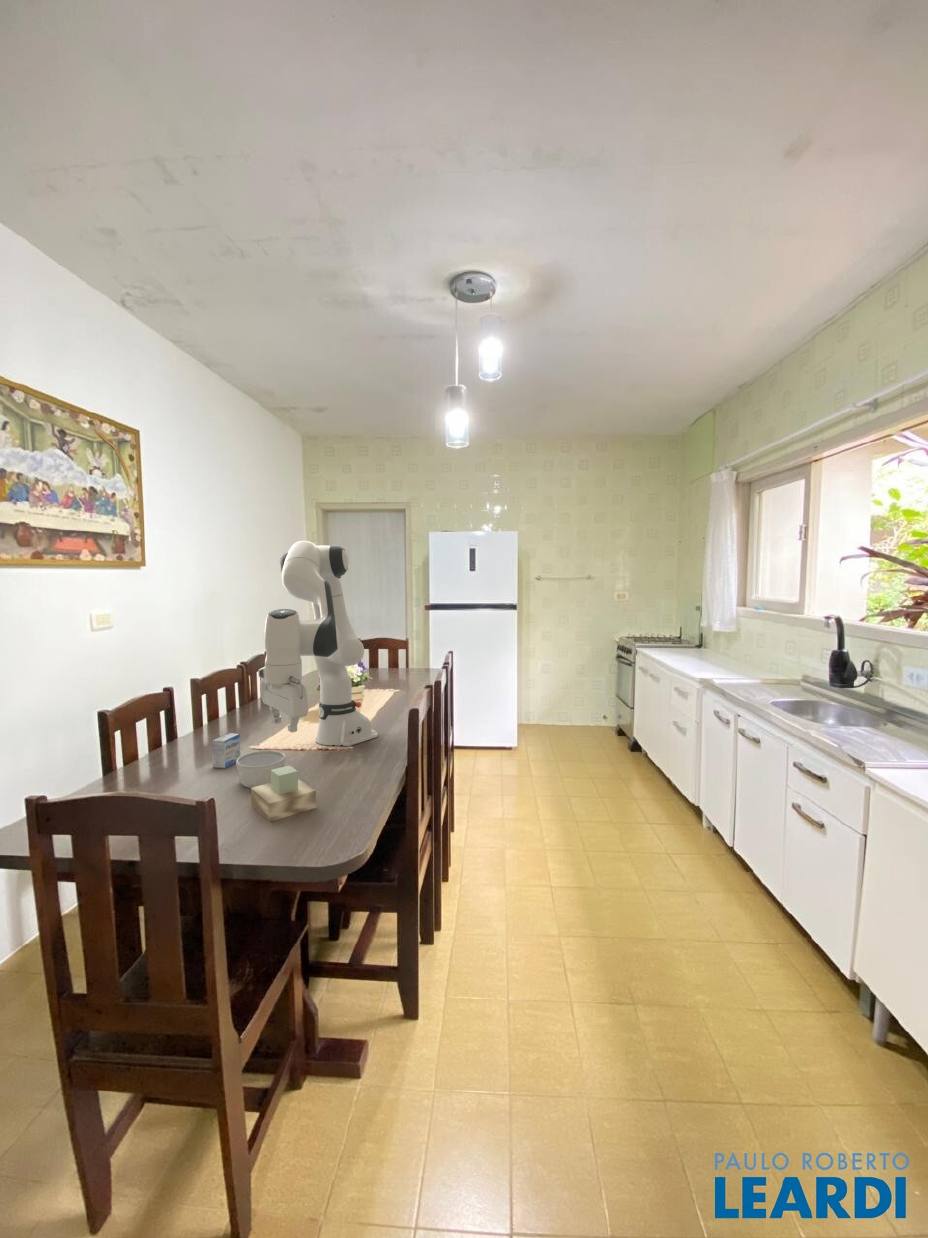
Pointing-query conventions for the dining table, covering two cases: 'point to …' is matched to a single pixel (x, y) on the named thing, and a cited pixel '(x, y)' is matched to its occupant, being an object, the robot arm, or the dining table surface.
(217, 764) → the medicine box
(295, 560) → the robot arm
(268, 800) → the birch block
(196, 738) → the dining table surface
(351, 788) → the dining table surface
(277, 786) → the sage cube
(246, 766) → the ramekin
